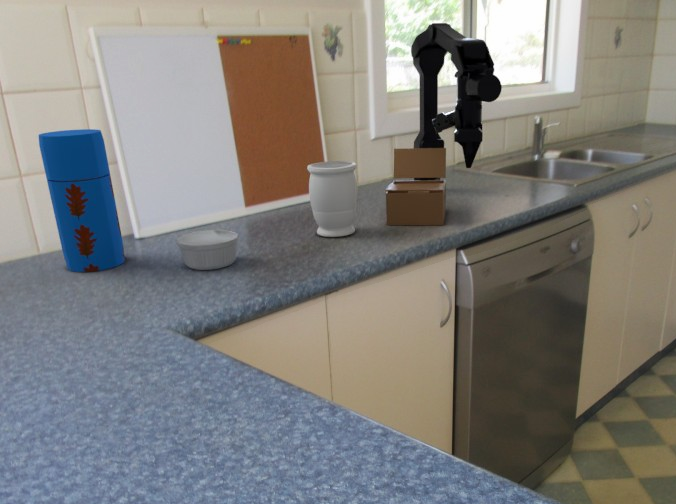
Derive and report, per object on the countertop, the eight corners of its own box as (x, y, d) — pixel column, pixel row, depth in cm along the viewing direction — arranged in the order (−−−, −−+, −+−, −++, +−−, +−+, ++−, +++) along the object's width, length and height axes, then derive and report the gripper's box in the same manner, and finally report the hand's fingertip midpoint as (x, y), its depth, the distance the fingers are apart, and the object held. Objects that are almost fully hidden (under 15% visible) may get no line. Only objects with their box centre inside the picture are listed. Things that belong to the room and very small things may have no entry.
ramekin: (253, 259, 129) (250, 233, 128) (210, 275, 121) (207, 247, 119) (211, 252, 135) (208, 226, 133) (168, 267, 126) (164, 240, 124)
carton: (394, 210, 165) (393, 177, 162) (445, 210, 164) (445, 177, 161) (386, 225, 151) (385, 190, 148) (442, 225, 150) (442, 189, 147)
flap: (393, 177, 162) (393, 178, 162) (445, 177, 161) (445, 177, 161) (394, 148, 162) (394, 148, 163) (446, 147, 161) (446, 148, 161)
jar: (331, 224, 153) (327, 159, 148) (368, 229, 148) (365, 162, 143) (302, 236, 144) (296, 166, 139) (341, 241, 139) (336, 170, 134)
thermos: (61, 274, 124) (30, 138, 115) (71, 258, 133) (44, 131, 124) (123, 268, 126) (97, 134, 117) (128, 253, 136) (106, 127, 127)
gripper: (436, 96, 161) (436, 161, 166) (431, 103, 143) (431, 175, 149) (482, 95, 159) (481, 161, 165) (483, 102, 142) (481, 175, 148)
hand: (468, 167), depth 157 cm, fingers closed
